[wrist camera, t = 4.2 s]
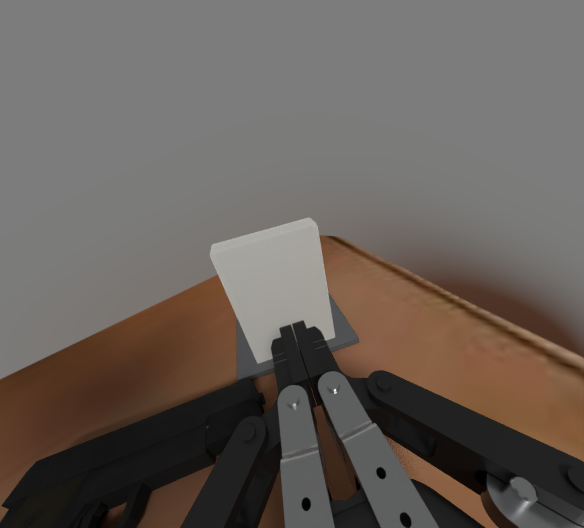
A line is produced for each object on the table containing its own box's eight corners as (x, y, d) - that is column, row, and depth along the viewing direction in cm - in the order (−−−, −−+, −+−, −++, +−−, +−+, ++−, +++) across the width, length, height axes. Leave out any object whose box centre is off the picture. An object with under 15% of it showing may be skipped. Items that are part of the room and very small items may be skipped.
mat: (359, 342, 22) (358, 338, 21) (239, 384, 21) (237, 380, 20) (310, 268, 36) (310, 264, 35) (237, 290, 34) (236, 287, 34)
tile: (335, 337, 22) (317, 224, 16) (257, 363, 21) (209, 254, 16) (327, 322, 24) (308, 216, 18) (255, 346, 23) (212, 243, 18)
